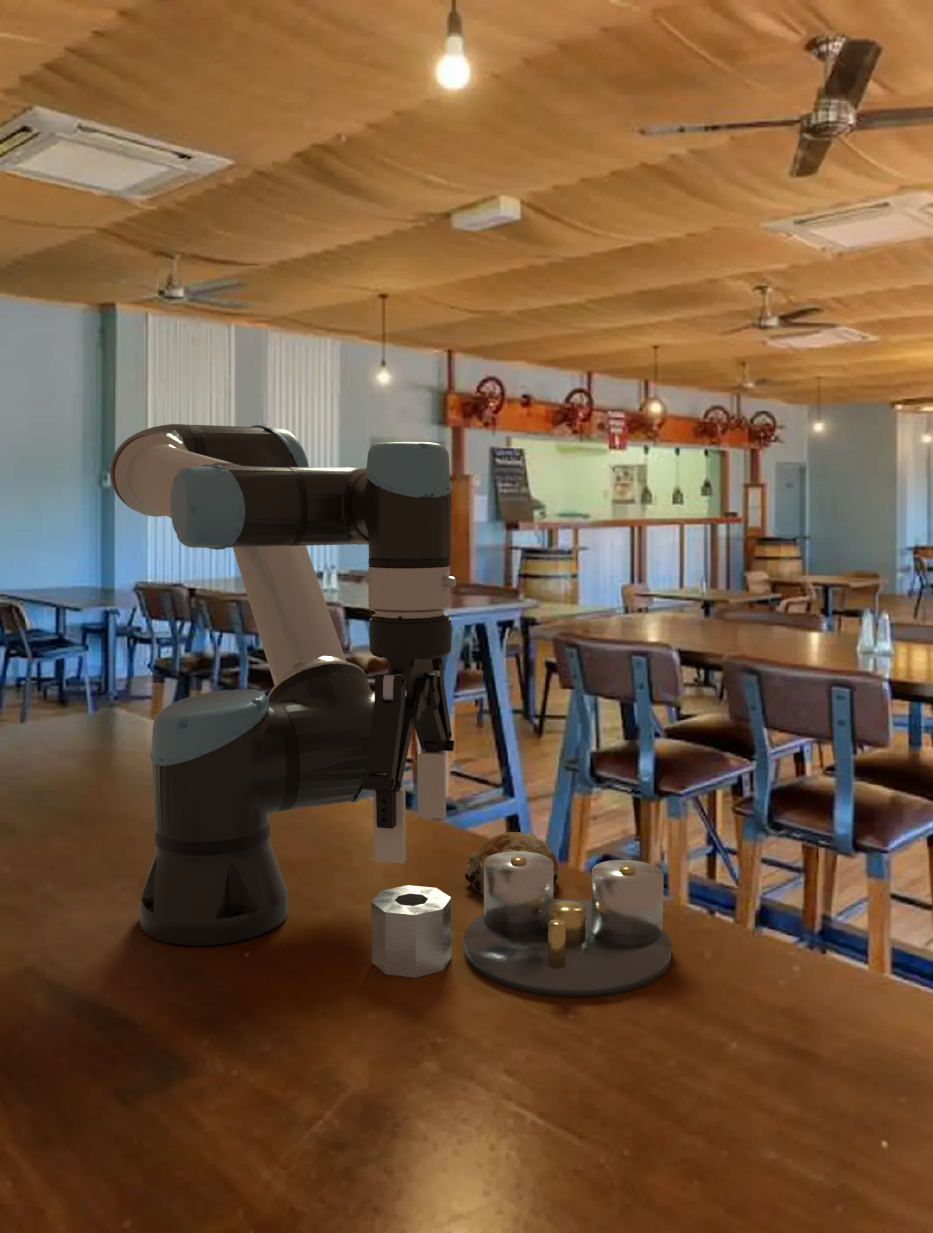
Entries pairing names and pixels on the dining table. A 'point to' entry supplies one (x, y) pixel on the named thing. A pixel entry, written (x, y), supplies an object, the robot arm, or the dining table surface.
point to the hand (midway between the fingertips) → (412, 837)
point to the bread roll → (506, 844)
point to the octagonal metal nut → (411, 931)
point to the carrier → (569, 928)
